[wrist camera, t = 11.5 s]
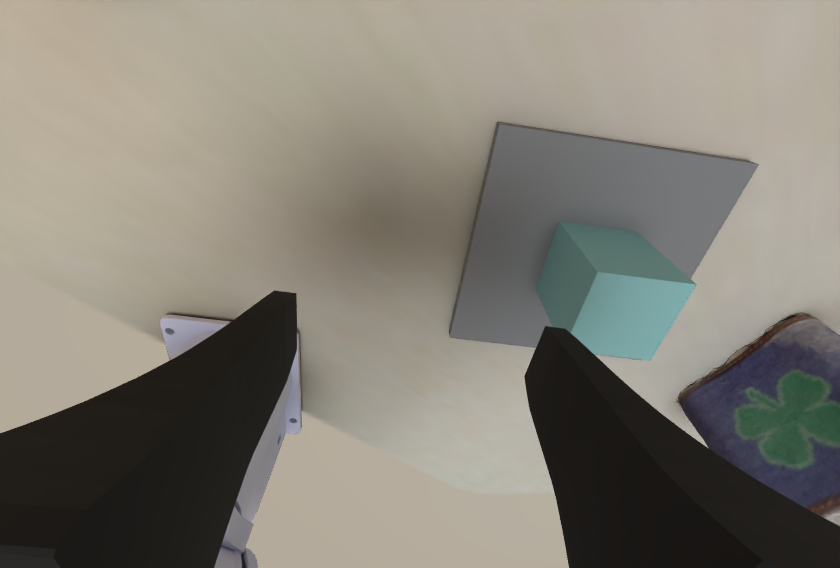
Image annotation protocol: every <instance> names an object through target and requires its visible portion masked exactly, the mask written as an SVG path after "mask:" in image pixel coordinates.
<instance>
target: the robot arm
mask: <svg viewBox="0 0 840 568" xmlns="http://www.w3.org/2000/svg"><path fill="white" fill-rule="evenodd" d="M160 326H161V330H162V333H163V337H164V341H165V344H166V348H167V352H168V355H169V359H170V361H168V362H166V363H165V364H163V365H161V366H159V367H157V368H155V369H153V370H151V371H149V372H148V373H146V374H144V375H141V376H140V377H138V378H136V379H133V380H131V381H129V382H127V383H124V384H122V385H120V386H118V387H116V388H114V389H111V390H109V391H107V392H105V393H102V394H100V395H98V396H96V397H94V398H91V399H89V400H87V401H85V402H82V403H80V404H77V405H75V406H72V407H70V408H67V409H65V410H62V411H60V412H57V413H55V414H52V415H49V416H47V417H44V418H42V419H39V420H36V421H34V422H31V423H28V424H26V425H23V426H20V427H17V428H14V429H12V430H9V431H6V432H3V433H0V568H258V565H257V559H256V557H255V555H254V553H252V551H251V550H249V549H247V548H245V547H246V544H247V541H248V539H249V536H250V533H251V530H252V527H253V523H252V522H251V521H252V520H253V518H254V517H255V514H256V513H257V511H258V508H259V506H260V503H261V500H262V497H263V495H264V492H265V489H266V486H267V483H268V480H269V478H270V475H271V472H272V469H273V467H274V464H275V461H276V458H277V455H278V453H279V450H280V447H281V444H282V441H283V439H284V436H285V433H290V434H297V433H299V432H300V431H301V427H302V417H301V385H300V354H299V334H298V332H297V303H296V293H289V292H281V291H273V292H272V293H270V294H269V295H267V296H266V297H265V298H263V299H262V300H260V301H259V302H258V303H256V304H255V305H254V306H252V307H251V308H250V309H248V310H247V311H245V312H244V313H243V314H241V315H240V316H239V317H237V318H236V319H234V320H233V321H231V322H230V321H221V320H212V319H204V318H195V317H186V316H178V315H165V316H164V317H163V318H162V319H161V320H160ZM170 328H171V329H172V330H171V329H170ZM173 330H174V331H173ZM525 383H526V390H527V397H528V402H529V408H530V412H531V415H532V418H533V422H534V425H535V429H536V432H537V435H538V438H539V442H540V445H541V448H542V451H543V455H544V458H545V461H546V464H547V468H548V471H549V474H550V477H551V481H552V484H553V488H554V492H555V496H556V500H557V505H558V510H559V515H560V520H561V525H562V530H563V535H564V540H565V546H566V552H567V558H568V564H569V568H840V526H839V525H837V524H835V523H833V522H831V521H829V520H827V519H825V518H823V517H821V516H819V515H818V514H816V513H814V512H812V511H810V510H808V509H806V508H805V507H803V506H801V505H799V504H797V503H796V502H794V501H792V500H791V499H789V498H787V497H785V496H784V495H782V494H780V493H778V492H777V491H775V490H773V489H772V488H770V487H768V486H766V485H765V484H763V483H761V482H760V481H758V480H757V479H755V478H753V477H752V476H750V475H748V474H747V473H745V472H744V471H742V470H740V469H739V468H737V467H736V466H734V465H733V464H731V463H730V462H728V461H727V460H725V459H724V458H722V457H721V456H719V455H717V454H716V453H714V452H713V451H711V450H710V449H708V448H707V447H706V446H704V445H703V444H701V443H700V442H698V441H697V440H696V439H694V438H693V437H691V436H690V435H689V434H687V433H686V432H685V431H683V430H682V429H681V428H679V427H678V426H677V425H675V424H674V423H673V422H671V421H670V420H669V419H667V418H666V417H665V416H663V415H662V414H661V413H660V412H658V411H657V410H656V409H655V408H654V407H652V406H651V405H650V404H649V403H648V402H646V401H645V400H644V399H643V398H642V397H640V396H639V395H638V394H637V393H636V392H634V391H633V390H632V389H631V388H630V387H629V386H628V385H627V384H625V383H624V382H623V381H622V380H621V379H620V378H619V377H618V376H617V375H615V374H614V373H613V372H612V371H611V370H610V369H609V368H608V367H607V366H606V365H605V364H604V363H603V362H601V361H600V360H599V359H598V358H597V357H596V356H595V355H594V354H593V353H592V352H591V351H590V350H589V349H588V348H587V347H586V346H584V345H583V344H582V343H581V342H580V341H579V340H578V339H577V338H576V337H575V336H573V335H572V334H571V333H570V332H569V331H568V330H566V329H564V328H557V327H549V326H545V328H544V330H543V332H542V335H541V337H540V340H539V342H538V345H537V347H536V350H535V352H534V354H533V357H532V359H531V362H530V364H529V367H528V369H527V371H526V374H525Z"/></svg>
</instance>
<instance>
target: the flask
mask: <svg viewBox="0 0 840 568" xmlns="http://www.w3.org/2000/svg"><path fill="white" fill-rule="evenodd" d="M766 332H767V334H766V335H763V336H762V337H760V338H758V339H757V340H756V341H754V342H752V343H750V344H749V345H748V346H745V347H743V348H742V349H740V350H738V351H736V353H735V354H733V355H731V356H730V358H729V360H727V361H726V363H725V365H724V366H723V367H720V368H719V369H718V368H713V370H712V372H711V373H710V375H708V376H707V377H705V378H702V379H698V381H696V383H694V385H691V386H690V387H688V388H686V389H683V390H682V391H681V394H680V395H679V397H678V400H677V401H676V402H679V403H680V405H681V407H682V408H683V411H684V413H685V414H686V416H687V417H688V419H689V420H690V421H691V423H692V424H693V426H694V427H695V429H696V430H697V432H698V433H699V434H700V436H701V437H702V438H703V440H704V441H705V443H706V444H707V446H708V448H709V449H710V450H711V451H713V452H714V453H716V454H717V455H719V456H721V457H722V458H724V459H725V460H727V461H728V462H730V463H731V464H733V465H734V466H736V467H737V468H739V469H740V470H742V471H744V472H745V473H747V474H748V475H750V476H752V477H753V478H755V479H757V480H758V481H760V482H761V483H763V484H765V485H766V486H768V487H770V488H772V489H773V490H775V491H777V492H778V493H780V494H782V495H784V496H785V497H787V498H789V499H791V500H792V501H794V502H796V503H797V504H799V505H801V506H803V507H805V508H806V509H808V510H810V511H812V512H814V513H816V514H818V515H819V516H821V517H823V518H825V519H827V520H829V521H831V522H833V523H835V524H837V525H839V526H840V335H838V334H837V333H835V332H834V331H833V330H831V329H830V328H829V327H827V326H826V325H824V324H823V323H822V322H821V321H820V320H818V319H816V318H813V317H811V316H807V315H804V314H801V313H800V314H797V315H796V316H795V317H792V318H790V319H787V320H785V321H784V320H783V321H781V322H779V323H778V324H776V325H774V326H772V327H770V328H769V329H767V330H766Z"/></svg>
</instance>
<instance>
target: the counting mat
mask: <svg viewBox="0 0 840 568" xmlns="http://www.w3.org/2000/svg"><path fill="white" fill-rule="evenodd" d="M758 165H759V164H757V163H754V162H751V161H747V160H740V159H734V158H727V157H721V156H714V155H708V154H701V153H695V152H689V151H682V150H676V149H669V148H663V147H656V146H650V145H643V144H637V143H630V142H624V141H618V140H611V139H605V138H598V137H592V136H585V135H579V134H572V133H566V132H559V131H553V130H546V129H540V128H534V127H527V126H521V125H514V124H508V123H501V122H497V126H496V130H495V135H494V139H493V143H492V148H491V152H490V156H489V161H488V165H487V169H486V174H485V178H484V182H483V187H482V191H481V195H480V200H479V204H478V208H477V213H476V217H475V221H474V226H473V230H472V234H471V239H470V243H469V247H468V252H467V256H466V260H465V265H464V269H463V273H462V278H461V282H460V286H459V291H458V295H457V299H456V304H455V308H454V312H453V317H452V321H451V325H450V330H449V336H450V338H457V339H466V340H474V341H483V342H491V343H500V344H508V345H517V346H526V347H534V348H536V347H537V345H538V342H539V340H540V337H541V335H542V332H543V330H544V328H545V326H549V327H552V325H551V323H550V320H549V318H548V316H547V314H546V312H545V309H544V307H543V305H542V303H541V301H540V298H539V296H538V294H537V292H536V290H535V288H536V285H537V282H538V280H539V277H540V274H541V271H542V268H543V265H544V262H545V260H546V257H547V254H548V251H549V248H550V245H551V242H552V240H553V237H554V234H555V231H556V228H557V225H558V223H559V221H562V222H569V223H577V224H584V225H592V226H599V227H606V228H614V229H621V230H628V231H636V232H638V233H639V234H640V235H641V236H642V237H643V238H644V239H646V240H647V241H648V242H649V243H650V244H651V245H652V246H654V247H655V248H656V249H657V250H658V251H659V252H660V253H661V254H663V255H664V256H665V257H666V258H667V259H668V260H669V261H671V262H672V263H673V264H674V265H675V266H676V267H677V268H678V269H680V270H681V271H682V272H683V273H684V274H685V275H686V276H687V277H689V278H690V279H691V277H692V276H693V274H694V272H695V271H696V269H697V267H698V265H699V264H700V262H701V260H702V259H703V257H704V255H705V254H706V252H707V250H708V249H709V247H710V245H711V244H712V242H713V240H714V239H715V237H716V235H717V234H718V232H719V230H720V229H721V227H722V225H723V224H724V222H725V220H726V219H727V217H728V215H729V214H730V212H731V210H732V209H733V207H734V205H735V204H736V202H737V200H738V199H739V197H740V195H741V194H742V192H743V190H744V189H745V187H746V185H747V184H748V182H749V180H750V178H751V177H752V175H753V173H754V172H755V170H756V168H757V167H758ZM594 355H597V354H594ZM603 356H606V355H603ZM611 357H615V356H611ZM620 358H623V357H620ZM628 359H632V358H628ZM637 360H641V359H637Z"/></svg>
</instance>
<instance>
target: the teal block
mask: <svg viewBox="0 0 840 568" xmlns="http://www.w3.org/2000/svg"><path fill="white" fill-rule="evenodd" d="M696 285H697V284H695V283H694V282H693V281H692V280H691V279H690V278H689V277H687V276H686V275H685V274H684V273H683V272H682V271H681V270H680V269H678V268H677V267H676V266H675V265H674V264H673V263H672V262H671V261H669V260H668V259H667V258H666V257H665V256H664V255H663V254H661V253H660V252H659V251H658V250H657V249H656V248H655V247H654V246H652V245H651V244H650V243H649V242H648V241H647V240H646V239H644V238H643V237H642V236H641V235H640V234H639V233H638V232H636V231H628V230H621V229H614V228H606V227H599V226H592V225H584V224H577V223H569V222H562V221H559V223H558V225H557V228H556V231H555V234H554V237H553V240H552V242H551V245H550V248H549V251H548V254H547V257H546V260H545V262H544V265H543V268H542V271H541V274H540V277H539V280H538V282H537V285H536V288H535V290H536V292H537V294H538V296H539V298H540V301H541V303H542V305H543V307H544V309H545V312H546V314H547V316H548V318H549V320H550V323H551V325H552V327H557V328H564V329H566V330H568V331H569V332H570V333H571V334H572V335H573V336H575V337H576V338H577V339H578V340H579V341H580V342H581V343H582V344H583V345H584V346H586V347H587V348H588V349H589V350H590V351H591V352H592V353H593V354H597V355H606V356H615V357H623V358H632V359H641V360H650V361H651V359H652V357H653V356H654V354H655V352H656V351H657V349H658V347H659V346H660V344H661V343H662V341H663V339H664V338H665V336H666V334H667V333H668V331H669V329H670V328H671V326H672V324H673V323H674V321H675V320H676V318H677V316H678V315H679V313H680V311H681V310H682V308H683V306H684V305H685V303H686V301H687V300H688V298H689V297H690V295H691V293H692V292H693V290H694V288H695V287H696Z"/></svg>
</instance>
